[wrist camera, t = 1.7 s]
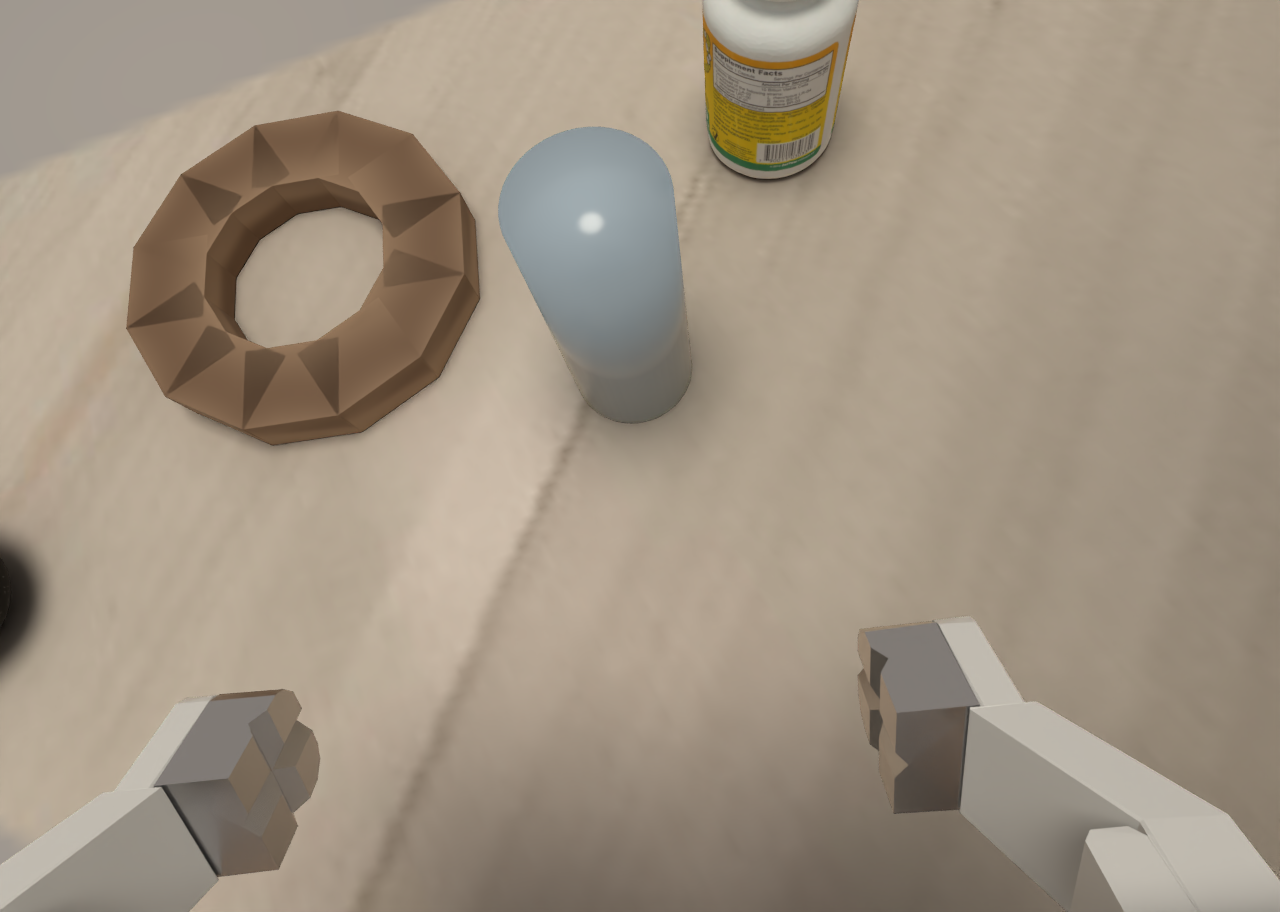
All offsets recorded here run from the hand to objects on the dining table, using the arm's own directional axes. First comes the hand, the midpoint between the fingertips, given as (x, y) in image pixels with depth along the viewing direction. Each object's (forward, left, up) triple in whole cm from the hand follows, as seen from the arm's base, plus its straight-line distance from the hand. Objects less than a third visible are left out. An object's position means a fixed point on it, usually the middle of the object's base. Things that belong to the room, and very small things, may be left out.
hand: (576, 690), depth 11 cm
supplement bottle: (-7, -22, -17) cm, 29 cm away
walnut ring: (+13, -18, -17) cm, 28 cm away
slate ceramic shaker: (0, -12, -17) cm, 21 cm away
